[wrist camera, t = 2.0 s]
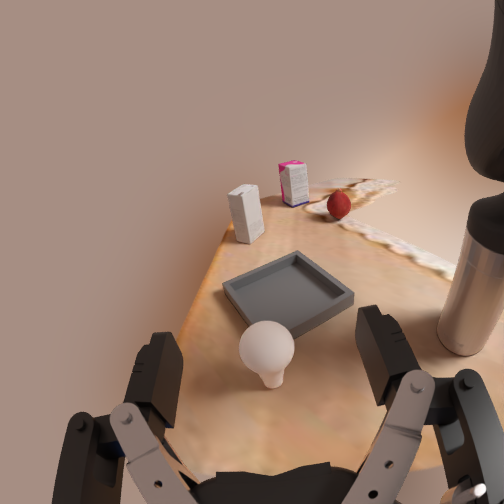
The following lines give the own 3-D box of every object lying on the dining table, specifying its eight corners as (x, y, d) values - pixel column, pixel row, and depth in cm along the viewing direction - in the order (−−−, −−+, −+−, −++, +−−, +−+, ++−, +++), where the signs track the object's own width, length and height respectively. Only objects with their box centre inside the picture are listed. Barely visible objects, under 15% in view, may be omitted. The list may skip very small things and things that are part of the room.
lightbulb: (257, 409, 32) (241, 360, 26) (246, 372, 37) (228, 318, 31) (304, 394, 33) (301, 341, 27) (288, 359, 38) (281, 303, 32)
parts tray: (298, 260, 57) (297, 250, 56) (353, 304, 45) (354, 292, 43) (225, 293, 52) (222, 283, 51) (268, 352, 40) (266, 341, 38)
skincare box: (250, 229, 71) (242, 183, 65) (266, 232, 69) (258, 184, 62) (235, 241, 67) (225, 193, 61) (251, 245, 65) (241, 195, 58)
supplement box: (310, 202, 79) (306, 163, 73) (292, 208, 78) (287, 168, 72) (299, 196, 84) (295, 159, 78) (281, 201, 82) (276, 163, 76)
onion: (330, 225, 67) (329, 194, 62) (325, 215, 72) (323, 185, 67) (353, 222, 66) (353, 191, 62) (346, 212, 71) (346, 183, 67)
